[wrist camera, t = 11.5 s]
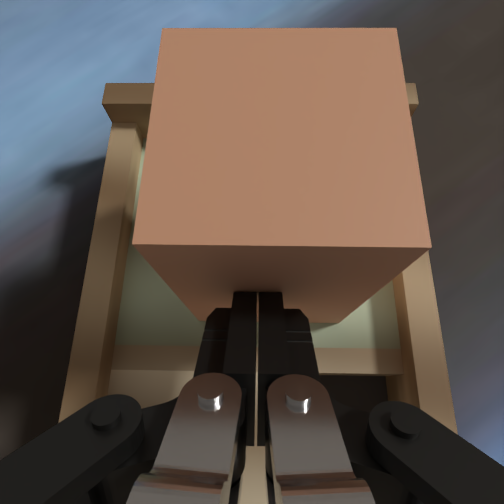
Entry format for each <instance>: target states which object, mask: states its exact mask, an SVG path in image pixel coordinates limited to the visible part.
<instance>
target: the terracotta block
mask: <svg viewBox="0 0 504 504" xmlns="http://www.w3.org/2000/svg"><path fill="white" fill-rule="evenodd" d="M132 245H133V246H134V247H135V248H136V249H137V250H138V252H139V253H140V254H141V255H142V256H143V257H144V259H145V260H146V261H147V262H148V263H149V264H150V265H151V267H152V268H153V269H154V270H155V271H156V272H157V273H158V275H159V276H160V277H161V278H162V279H163V280H164V281H165V283H166V284H167V285H168V286H169V287H170V288H171V289H172V291H173V292H174V293H175V294H176V295H177V296H178V297H179V299H180V300H181V301H182V302H183V303H184V304H185V306H186V307H187V308H188V309H189V310H190V311H191V312H192V314H193V315H194V316H195V317H196V318H197V319H198V320H199V321H206V320H207V317H208V316H209V315H210V314H211V313H212V312H213V310H214V309H215V308H231V307H232V300H233V293H234V292H257V322H259V292H282V295H283V305H284V309H300V310H301V311H302V312H303V313H304V315H305V316H306V317H307V318H308V320H309V323H340V322H341V321H342V320H343V319H345V318H346V317H347V316H348V315H350V314H351V313H352V312H353V311H354V310H356V309H357V308H358V307H359V306H361V305H362V304H363V303H364V302H366V301H367V300H368V299H369V298H370V297H372V296H373V295H374V294H375V293H377V292H378V291H379V290H380V289H381V288H383V287H384V286H385V285H386V284H388V283H389V282H390V281H391V280H393V279H394V278H395V277H396V276H397V275H399V274H400V273H401V272H402V271H404V270H405V269H406V268H407V267H408V266H410V265H411V264H412V263H413V262H415V261H416V260H417V259H418V258H420V257H421V256H422V255H423V254H424V253H426V252H427V251H428V250H429V249H431V248H432V246H431V240H430V234H429V228H428V222H427V215H426V209H425V203H424V197H423V190H422V184H421V178H420V172H419V166H418V159H417V153H416V147H415V141H414V135H413V128H412V122H411V116H410V110H409V104H408V97H407V91H406V85H405V79H404V73H403V66H402V60H401V54H400V48H399V41H398V35H397V29H396V28H162V35H161V42H160V49H159V56H158V63H157V70H156V77H155V84H154V91H153V98H152V106H151V113H150V120H149V127H148V134H147V141H146V148H145V155H144V162H143V169H142V177H141V184H140V191H139V198H138V205H137V212H136V219H135V226H134V233H133V240H132Z"/></svg>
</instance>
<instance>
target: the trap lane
mask: <svg viewBox="0 0 504 504" xmlns="http://www.w3.org/2000/svg"><path fill="white" fill-rule="evenodd" d="M154 84H155V83H106V84H105V90H104V95H103V100H102V105H103V107H104V109H105V110H106V112H107V114H108V116H109V118H110V120H111V121H112V127H111V133H110V138H109V144H108V149H107V155H106V160H105V166H104V172H103V177H102V183H101V188H100V194H99V199H98V205H97V211H96V216H95V222H94V227H93V233H92V238H91V244H90V250H89V255H88V261H87V266H86V272H85V278H84V283H83V289H82V294H81V300H80V305H79V311H78V317H77V322H76V328H75V333H74V339H73V344H72V350H71V356H70V361H69V367H68V372H67V378H66V383H65V389H64V395H63V400H62V406H61V411H60V417H59V422H61V421H62V420H64V419H65V418H67V417H69V416H70V415H72V414H73V413H75V412H76V411H78V410H79V409H81V408H83V407H84V406H86V405H87V404H89V403H90V402H92V401H94V400H96V399H98V398H101V397H104V396H107V395H113V394H123V395H128V396H130V397H133V398H134V399H136V400H137V401H138V403H139V404H140V406H141V409H142V408H146V407H150V406H154V405H158V404H162V403H165V402H168V401H170V400H173V399H174V398H176V397H178V396H179V394H180V392H181V390H182V388H183V386H184V385H185V384H186V383H187V382H188V381H190V380H191V379H192V378H193V375H194V371H195V366H196V362H197V358H198V354H199V349H200V345H201V341H202V337H203V332H204V328H205V324H206V321H199V320H198V319H197V318H196V317H195V316H194V315H193V314H192V312H191V311H190V310H189V309H188V308H187V307H186V306H185V304H184V303H183V302H182V301H181V300H180V299H179V297H178V296H177V295H176V294H175V293H174V292H173V291H172V289H171V288H170V287H169V286H168V285H167V284H166V283H165V281H164V280H163V279H162V278H161V277H160V276H159V275H158V273H157V272H156V271H155V270H154V269H153V268H152V267H151V265H150V264H149V263H148V262H147V261H146V260H145V259H144V257H143V256H142V255H141V254H140V253H139V252H138V250H137V249H136V248H135V247H134V246H133V245H132V240H133V233H134V226H135V219H136V212H137V205H138V198H139V191H140V184H141V177H142V169H143V162H144V155H145V148H146V141H147V134H148V127H149V120H150V113H151V106H152V98H153V91H154ZM405 85H406V91H407V97H408V104H409V110H410V116H411V117H412V115H413V113H414V111H415V110H416V108H417V106H418V104H419V103H418V97H417V91H416V86H415V83H405ZM309 325H310V330H311V335H312V340H313V345H314V350H315V355H316V360H317V365H318V371H319V376H320V380H321V384H322V385H323V386H324V387H325V388H326V390H327V391H328V394H329V395H330V396H331V397H332V398H334V399H335V400H336V401H338V402H340V403H342V404H344V405H346V406H349V407H352V408H355V409H359V410H362V411H366V412H369V413H370V412H371V410H372V409H373V408H374V407H375V406H376V405H378V404H379V403H382V402H385V401H401V402H405V403H408V404H411V405H413V406H416V407H418V408H419V409H421V410H423V411H424V412H426V413H427V414H428V415H430V416H431V417H433V418H434V419H436V420H437V421H439V422H440V423H441V424H443V425H444V426H446V427H447V428H449V429H450V430H452V431H453V432H454V433H456V434H457V427H456V421H455V415H454V409H453V402H452V396H451V390H450V384H449V377H448V371H447V365H446V359H445V352H444V346H443V340H442V334H441V328H440V321H439V315H438V309H437V303H436V296H435V290H434V284H433V278H432V271H431V265H430V259H429V253H428V251H427V252H426V253H424V254H423V255H422V256H421V257H420V258H418V259H417V260H416V261H415V262H413V263H412V264H411V265H410V266H408V267H407V268H406V269H405V270H404V271H402V272H401V273H400V274H399V275H397V276H396V277H395V278H394V279H393V280H391V281H390V282H389V283H388V284H386V285H385V286H384V287H383V288H381V289H380V290H379V291H378V292H377V293H375V294H374V295H373V296H372V297H370V298H369V299H368V300H367V301H366V302H364V303H363V304H362V305H361V306H359V307H358V308H357V309H356V310H354V311H353V312H352V313H351V314H350V315H348V316H347V317H346V318H345V319H343V320H342V321H341V322H340V323H309ZM258 326H259V322H257V343H256V393H255V441H254V446H246V460H245V468H244V471H243V481H242V489H241V497H240V504H267V498H266V486H265V446H257V405H258ZM59 422H58V423H59ZM457 435H458V434H457Z"/></svg>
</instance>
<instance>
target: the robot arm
mask: <svg viewBox="0 0 504 504" xmlns="http://www.w3.org/2000/svg"><path fill="white" fill-rule="evenodd" d="M256 343H257V292H234V293H233V300H232V307H231V308H215V309H214V310H213V312H212V313H211V314H210V315H209V316H208V317H207V320H206V324H205V328H204V332H203V337H202V341H201V345H200V349H199V354H198V358H197V362H196V366H195V371H194V375H193V378H192V379H191V380H190V381H188V382H187V383H186V384H185V385H184V386H183V388H182V390H181V392H180V394H179V396H178V397H176V398H174V399H173V400H170V401H168V402H165V403H162V404H158V405H154V406H150V407H146V408H142V409H141V406H140V404H139V403H138V401H137V400H136V399H134V398H133V397H130V396H128V395H123V394H113V395H107V396H104V397H101V398H98V399H96V400H94V401H92V402H90V403H89V404H87V405H86V406H84V407H83V408H81V409H79V410H78V411H76V412H75V413H73V414H72V415H70V416H69V417H67V418H65V419H64V420H62V421H61V422H59V423H58V424H56V425H55V426H53V427H52V428H50V429H48V430H47V431H45V432H44V433H42V434H41V435H39V436H38V437H36V438H34V439H33V440H31V441H30V442H28V443H27V444H25V445H24V446H22V447H20V448H19V449H17V450H16V451H14V452H13V453H11V454H10V455H8V456H6V457H5V458H3V459H2V460H0V504H240V497H241V489H242V481H243V471H244V468H245V460H246V446H254V441H255V393H256ZM257 446H265V486H266V498H267V504H504V467H503V466H502V465H501V464H499V463H498V462H496V461H495V460H493V459H492V458H490V457H489V456H488V455H486V454H485V453H483V452H482V451H480V450H479V449H477V448H476V447H475V446H473V445H472V444H470V443H469V442H467V441H466V440H465V439H463V438H462V437H460V436H459V435H457V434H456V433H454V432H453V431H452V430H450V429H449V428H447V427H446V426H444V425H443V424H441V423H440V422H439V421H437V420H436V419H434V418H433V417H431V416H430V415H428V414H427V413H426V412H424V411H423V410H421V409H419V408H418V407H416V406H413V405H411V404H408V403H405V402H401V401H385V402H382V403H379V404H378V405H376V406H375V407H374V408H373V409H372V410H371V412H370V413H369V412H366V411H362V410H359V409H355V408H352V407H349V406H346V405H344V404H342V403H340V402H338V401H336V400H335V399H334V398H332V397H331V396H330V395H329V394H328V391H327V390H326V388H325V387H324V386H323V385H322V384H321V380H320V376H319V371H318V365H317V360H316V355H315V350H314V345H313V340H312V335H311V330H310V325H309V320H308V318H307V317H306V316H305V315H304V313H303V312H302V311H301V310H300V309H284V305H283V295H282V292H259V326H258V405H257Z"/></svg>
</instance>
